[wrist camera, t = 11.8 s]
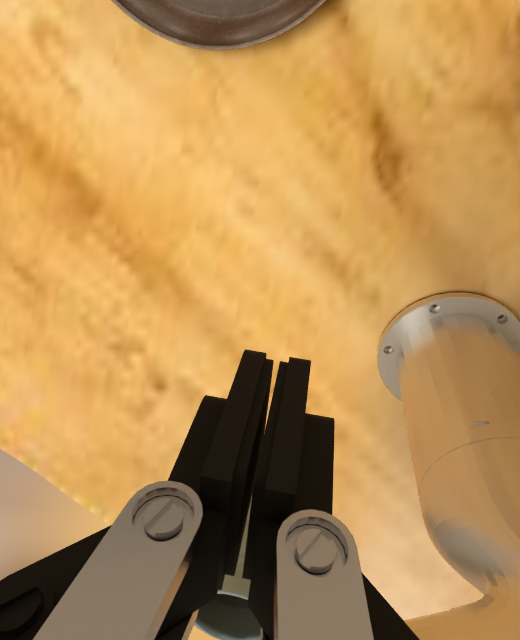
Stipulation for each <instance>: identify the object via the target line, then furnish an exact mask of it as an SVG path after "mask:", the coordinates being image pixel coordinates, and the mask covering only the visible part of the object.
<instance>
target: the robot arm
mask: <svg viewBox="0 0 520 640" xmlns="http://www.w3.org/2000/svg"><path fill="white" fill-rule="evenodd" d="M435 304H436V305H435ZM432 305H435V306H432ZM500 315H501V316H500ZM387 346H388V347H387ZM377 359H378V368H379V372H380V375H381V378H382V380H383V382H384V384H385V385H386V387H387V388H388V389H389V390H390V392H391V393H392V394H393V395H394V396H395V397H397V398H398V399H399V400H400V401H402V404H403V410H404V416H405V421H406V427H407V433H408V438H409V444H410V450H411V455H412V461H413V467H414V472H415V478H416V484H417V489H418V495H419V501H420V506H421V512H422V517H423V520H424V524H425V527H426V530H427V532H428V535H429V537H430V539H431V541H432V542H433V544H434V546H435V547H436V549H437V550H438V552H439V553H440V555H441V556H442V557H443V558H444V559H445V560H446V561H447V562H448V564H449V565H450V566H451V567H452V568H453V569H454V570H455V571H456V572H458V573H459V574H460V575H461V576H462V577H463V578H464V579H465V580H467V581H468V582H469V583H470V584H472V585H473V586H474V587H475V588H477V589H478V590H479V591H481V592H482V593H483V594H485V596H484V597H483V598H482V599H480V600H478V601H476V602H474V603H471V604H467V605H463V606H460V607H456V608H452V609H450V610H449V611H445V612H440V613H436V614H431V615H427V616H422V617H418V618H413V619H409V620H404V621H403V619H402V618H401V617H400V616H399V615H398V614H397V613H396V611H395V610H394V609H393V608H392V607H391V606H390V604H389V603H388V602H387V601H386V600H385V599H384V598H383V596H382V595H381V594H380V593H379V592H378V591H377V590H376V588H375V587H374V586H373V585H372V584H371V583H370V581H369V580H368V579H367V578H366V577H365V576H364V575H363V573H362V572H361V567H360V562H359V557H358V551H357V547H356V544H355V541H354V538H353V536H352V534H351V533H350V531H349V530H348V528H347V527H346V526H345V525H344V524H343V523H342V522H341V521H340V520H339V519H337V518H336V517H334V516H332V500H333V461H334V418H329V417H323V416H318V415H312V414H307V413H305V410H306V401H307V392H308V383H309V374H310V365H311V361H310V360H304V359H298V358H292V357H290V358H289V363H287V362H282V361H280V364H279V369H278V374H277V378H276V383H275V387H274V392H273V397H272V401H271V406H270V411H269V415H268V420H267V424H266V417H267V409H268V401H269V393H270V386H271V378H272V370H273V360H270V359H266V353H263V352H257V351H251V350H244V353H243V356H242V358H241V361H240V364H239V367H238V370H237V373H236V375H235V378H234V381H233V384H232V387H231V390H230V392H229V395H228V398H227V399H224V398H218V397H212V396H207V395H206V396H205V397H204V398H203V400H202V402H201V404H200V406H199V409H198V411H197V413H196V416H195V418H194V420H193V423H192V425H191V428H190V430H189V432H188V435H187V437H186V439H185V442H184V444H183V446H182V449H181V451H180V453H179V456H178V458H177V460H176V463H175V465H174V467H173V470H172V472H171V474H170V477H169V479H168V481H159V482H156V483H153V484H150V485H147V486H145V487H144V488H142V489H141V490H139V491H137V492H136V493H135V495H134V496H133V497H132V498H131V499H130V500H129V501H128V503H127V504H126V506H125V507H124V508H123V510H122V511H121V513H120V514H119V516H118V517H117V519H116V520H115V521H114V523H113V524H112V525H111V526H109V527H107V528H105V529H103V530H101V531H99V532H97V533H95V534H92V535H90V536H88V537H86V538H84V539H82V540H80V541H78V542H76V543H74V544H72V545H70V546H68V547H66V548H64V549H62V550H60V551H58V552H56V553H54V554H52V555H50V556H48V557H45V558H44V559H41V560H39V561H37V562H36V563H33V564H31V565H29V566H27V567H25V568H23V569H21V570H19V571H17V572H15V573H13V574H11V575H9V576H7V577H6V578H4V579H2V580H1V581H0V640H188V637H189V635H190V633H191V630H192V628H193V625H194V623H195V621H196V618H197V615H198V611H199V609H200V608H201V607H203V606H204V605H206V604H207V603H209V602H210V601H212V600H213V599H215V598H216V596H217V592H218V590H222V586H223V582H224V578H225V574H226V575H230V576H234V575H235V572H236V567H237V563H238V558H239V553H240V549H241V544H242V539H243V535H244V530H245V525H246V521H247V516H248V511H249V507H250V502H251V509H250V517H249V525H248V533H247V542H246V550H245V558H244V566H243V574H242V578H244V579H248V580H251V582H250V589H249V596H248V603H247V605H248V606H249V608H250V610H251V611H252V613H253V614H254V616H255V618H256V619H257V621H258V622H259V624H260V626H261V632H260V640H520V322H519V321H518V319H517V318H516V317H515V315H514V314H513V313H512V312H511V311H510V310H508V309H507V308H506V307H505V306H504V305H502V304H500V303H498V302H497V301H495V300H493V299H491V298H488V297H485V296H482V295H478V294H472V293H465V292H460V293H445V294H439V295H434V296H431V297H428V298H425V299H422V300H419V301H418V302H416V303H414V304H412V305H410V306H408V307H407V308H405V309H404V310H403V311H402V312H400V313H399V314H398V315H396V317H395V318H394V319H393V320H392V321H391V322H390V323H389V324H388V326H387V327H386V329H385V331H384V332H383V334H382V336H381V339H380V342H379V345H378V354H377ZM265 424H266V429H265ZM264 432H265V434H264ZM251 497H252V500H251Z"/></svg>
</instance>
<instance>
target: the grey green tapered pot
mask: <svg viewBox="0 0 520 640" xmlns="http://www.w3.org/2000/svg"><path fill="white" fill-rule="evenodd" d="M250 509H251V502H250V507H249V511H248V516H247V521H246V525H245V530H244V535H243V539H242V544H241V549H240V553H239V558H238V563H237V567H236V572H235V575H234V576H230V575H226V574H225V578H224V582H223V586H222V590H218V592H217V596H216V598H215V599H213V600H212V601H210V602H209V603H207V604H206V605H204V606H203V607H201V608H200V609H199V611H198V615H197V618H196V621H195V623H194V625H195V626H196V627H197V628H198V629H200V630H202V631H203V632H205V633H207V634H208V635H210V636H212V637H214V638H217V639H220V640H260V632H261V626H260V624H259V622H258V621H257V619H256V618H255V616H254V614H253V613H252V611H251V610H250V608H249V606H248V605H247V603H248V596H249V589H250V582H251V580H248V579H244V578H242V574H243V566H244V558H245V550H246V542H247V533H248V525H249V517H250Z"/></svg>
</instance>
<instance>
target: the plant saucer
mask: <svg viewBox="0 0 520 640" xmlns="http://www.w3.org/2000/svg"><path fill="white" fill-rule="evenodd" d="M112 1H113V3H115V4H116V5H117V6H118V7H119V8H120V9H121V10H122V11H123V12H124V13H125V14H127V15H128V16H129V17H130V18H132V19H133V20H134V21H135V22H137V23H138V24H140V25H141V26H143V27H144V28H146V29H148V30H149V31H151V32H153V33H155V34H157V35H158V36H160V37H162V38H165V39H167V40H169V41H172V42H174V43H177V44H180V45H183V46H188V47H193V48H198V49H205V50H229V49H239V48H244V47H249V46H252V45H255V44H259V43H262V42H264V41H267V40H269V39H272V38H274V37H276V36H278V35H280V34H282V33H284V32H286V31H288V30H290V29H291V28H293V27H294V26H296V25H297V24H299V23H300V22H302V21H303V20H304V19H306V18H307V17H308V16H309V15H310V14H312V13H313V12H314V11H315V10H316V9H317V8H318V7H320V6H321V5H322V4H323V3H324V2H325V1H326V0H112Z"/></svg>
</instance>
